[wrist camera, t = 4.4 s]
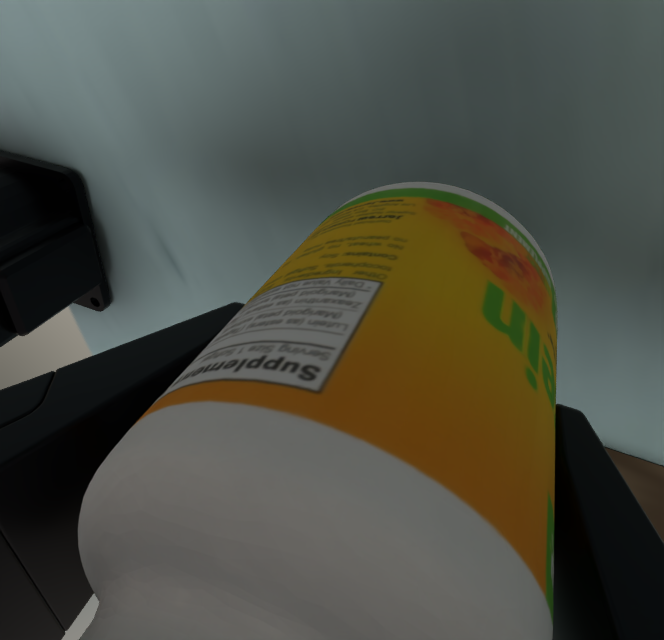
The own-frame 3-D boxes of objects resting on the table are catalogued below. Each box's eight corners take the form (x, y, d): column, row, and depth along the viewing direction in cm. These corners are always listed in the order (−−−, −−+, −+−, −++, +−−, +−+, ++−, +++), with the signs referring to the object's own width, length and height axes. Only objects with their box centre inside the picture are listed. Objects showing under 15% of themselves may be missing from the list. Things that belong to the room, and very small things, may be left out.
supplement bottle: (581, 379, 10) (630, 1378, 3) (360, 396, 13) (108, 942, 6) (522, 132, 8) (178, 1644, 1) (271, 215, 11) (-323, 732, 4)
